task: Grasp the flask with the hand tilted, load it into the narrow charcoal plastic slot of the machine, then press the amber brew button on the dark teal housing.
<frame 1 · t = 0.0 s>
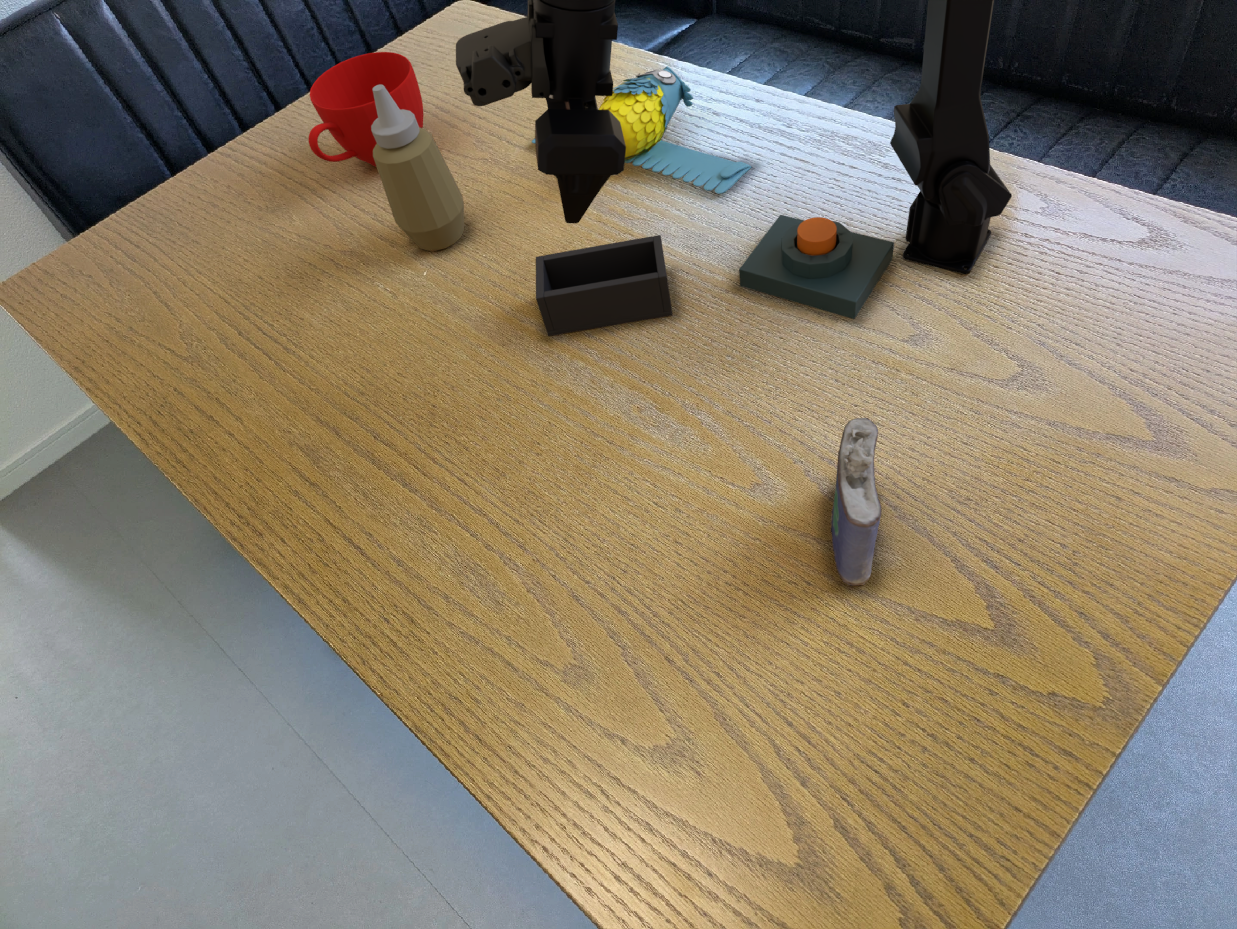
hand: (567, 189, 69), 15 cm above the table, tool pointing down, fingers open, 9 cm apart
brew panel: (815, 273, 81), on the table
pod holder: (608, 304, 83), on the table
owl figurine: (640, 152, 98), on the table
brew button: (816, 236, 77), point 4 cm above the table, slide at 0.1 cm
ceramic cup: (383, 162, 106), on the table
squeeze bottle: (440, 236, 95), on the table
flask: (850, 535, 63), on the table
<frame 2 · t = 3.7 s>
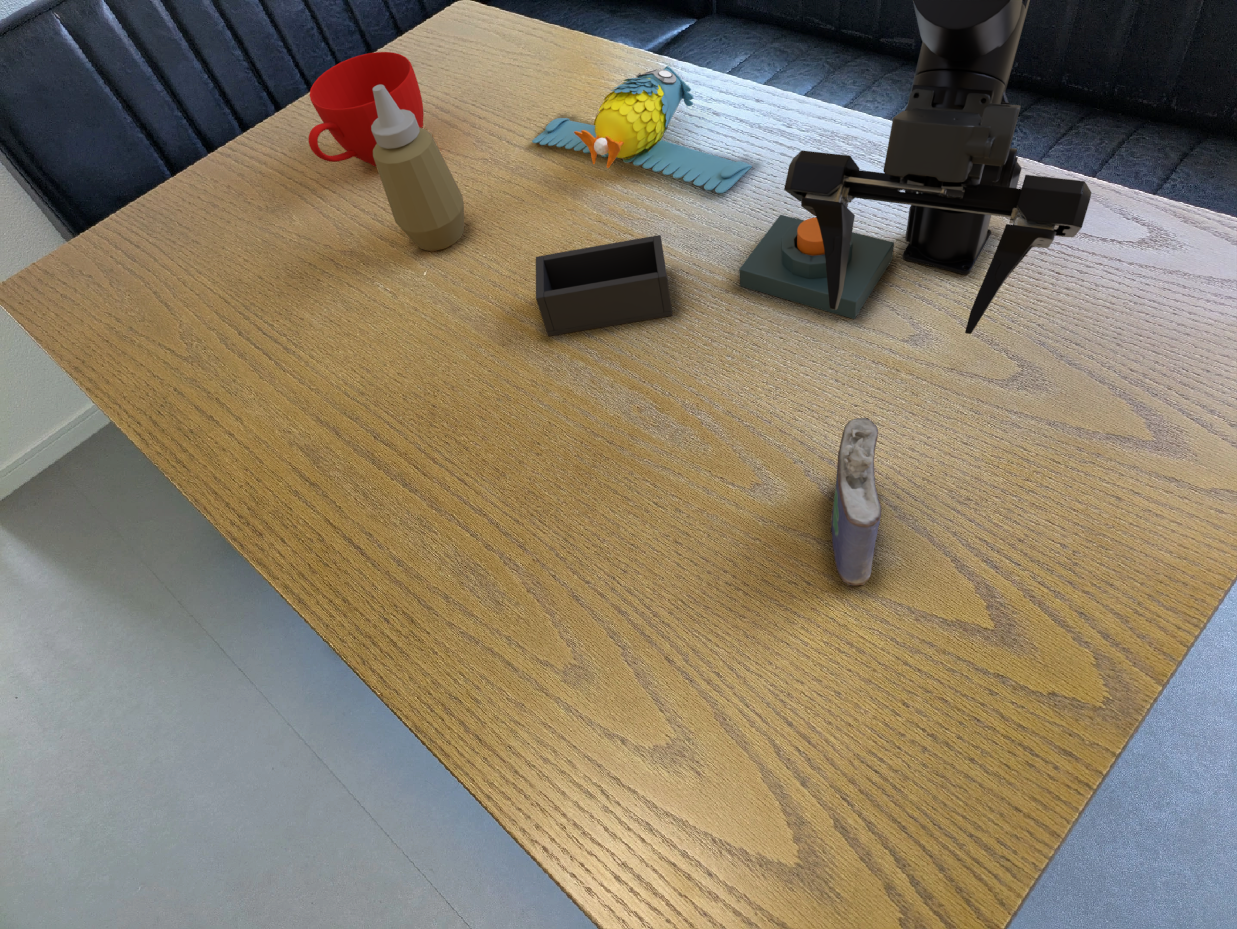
hand: (898, 321, 57), 14 cm above the table, tool tilted 45°, fingers open, 9 cm apart
nothing on the table moved.
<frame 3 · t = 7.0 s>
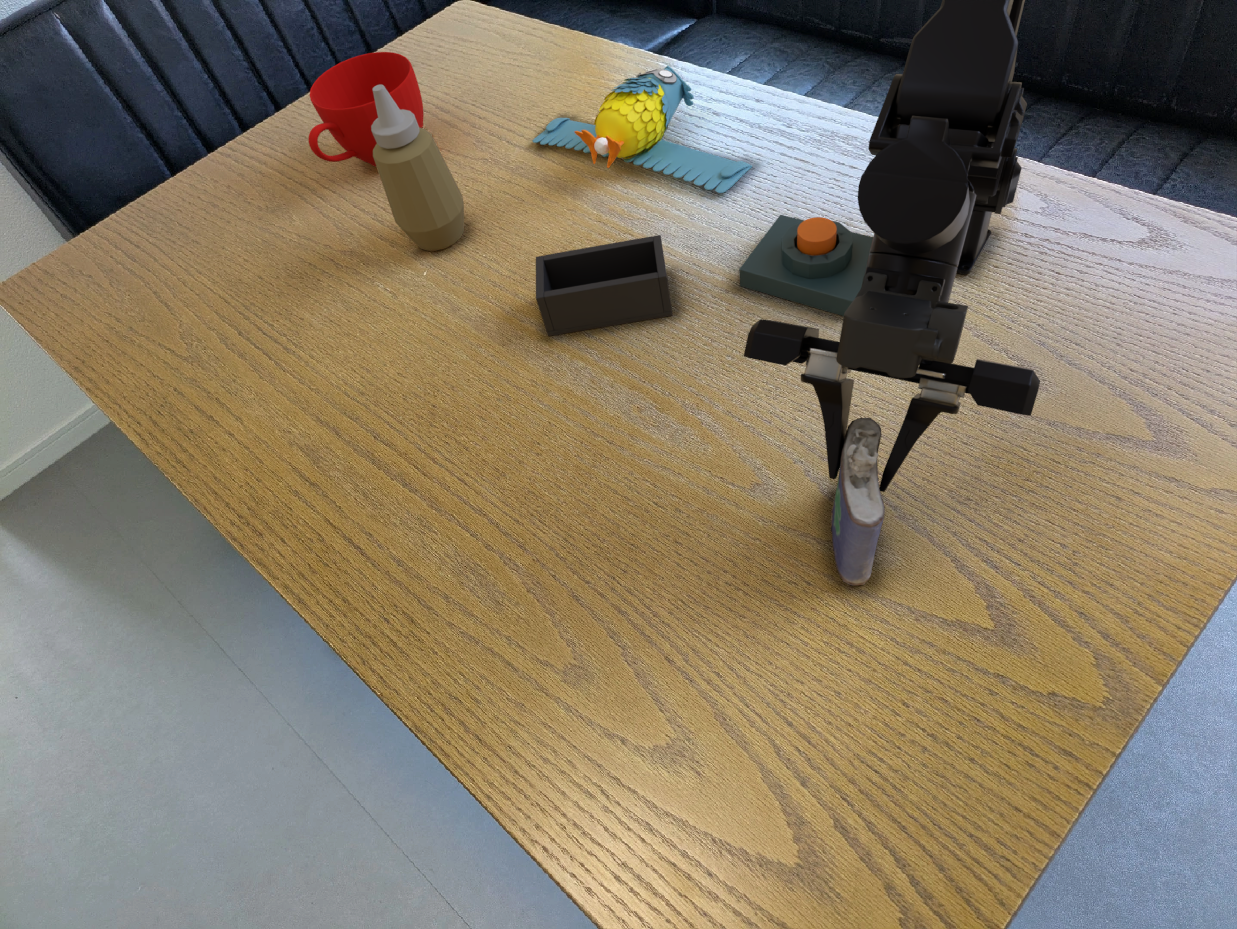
hand: (856, 484, 58), 7 cm above the table, tool tilted 45°, fingers closed on flask, 3 cm apart
flask: (850, 535, 63), on the table, touching gripper
everything else where it was.
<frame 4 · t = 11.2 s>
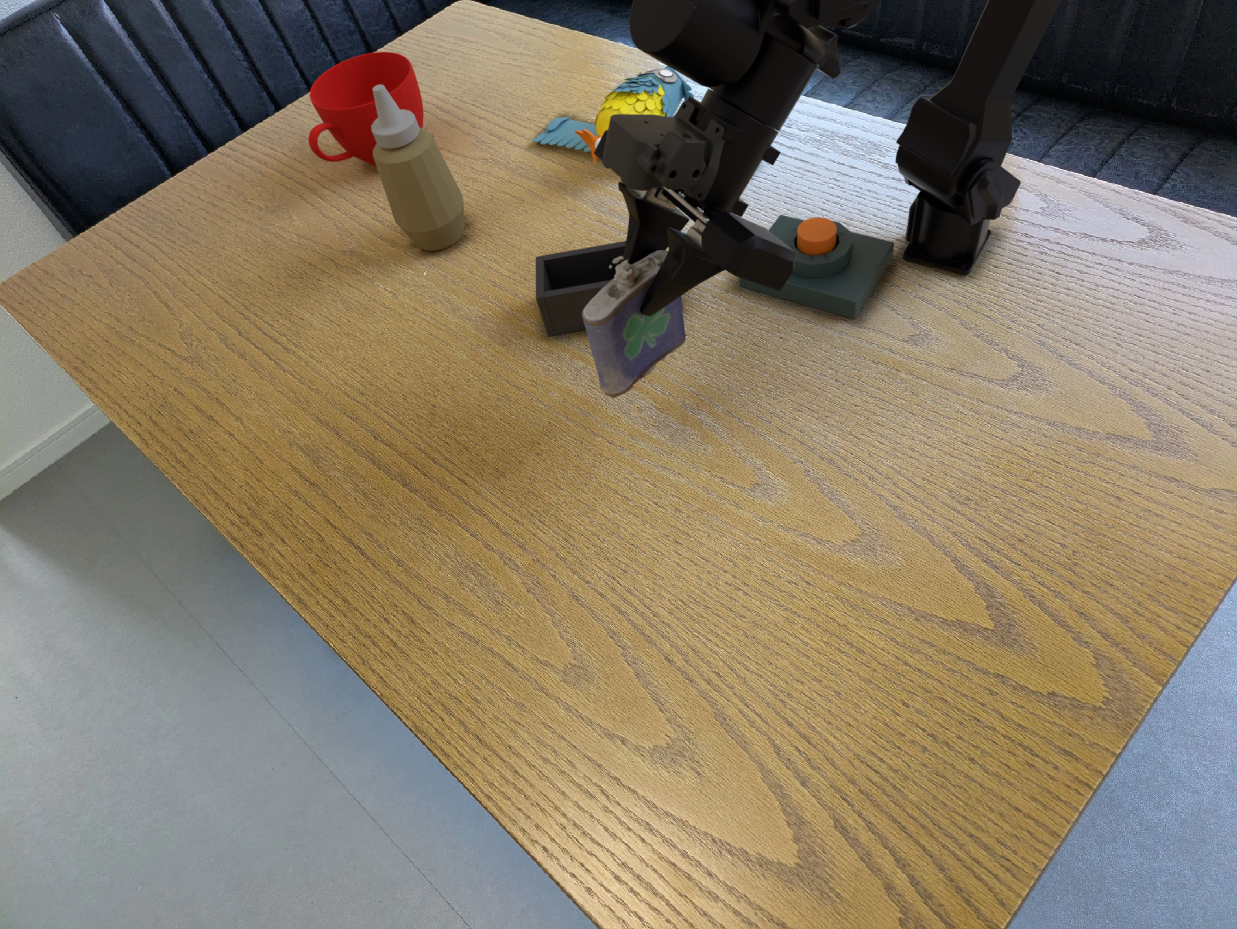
hand: (633, 302, 63), 13 cm above the table, tool tilted 45°, fingers closed on flask, 3 cm apart
flask: (644, 363, 68), point 6 cm above the table, touching gripper
everything else where it was.
when the fingers open (7 cm above the table, at t = 15.5 s): flask stays where it is, resting on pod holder.
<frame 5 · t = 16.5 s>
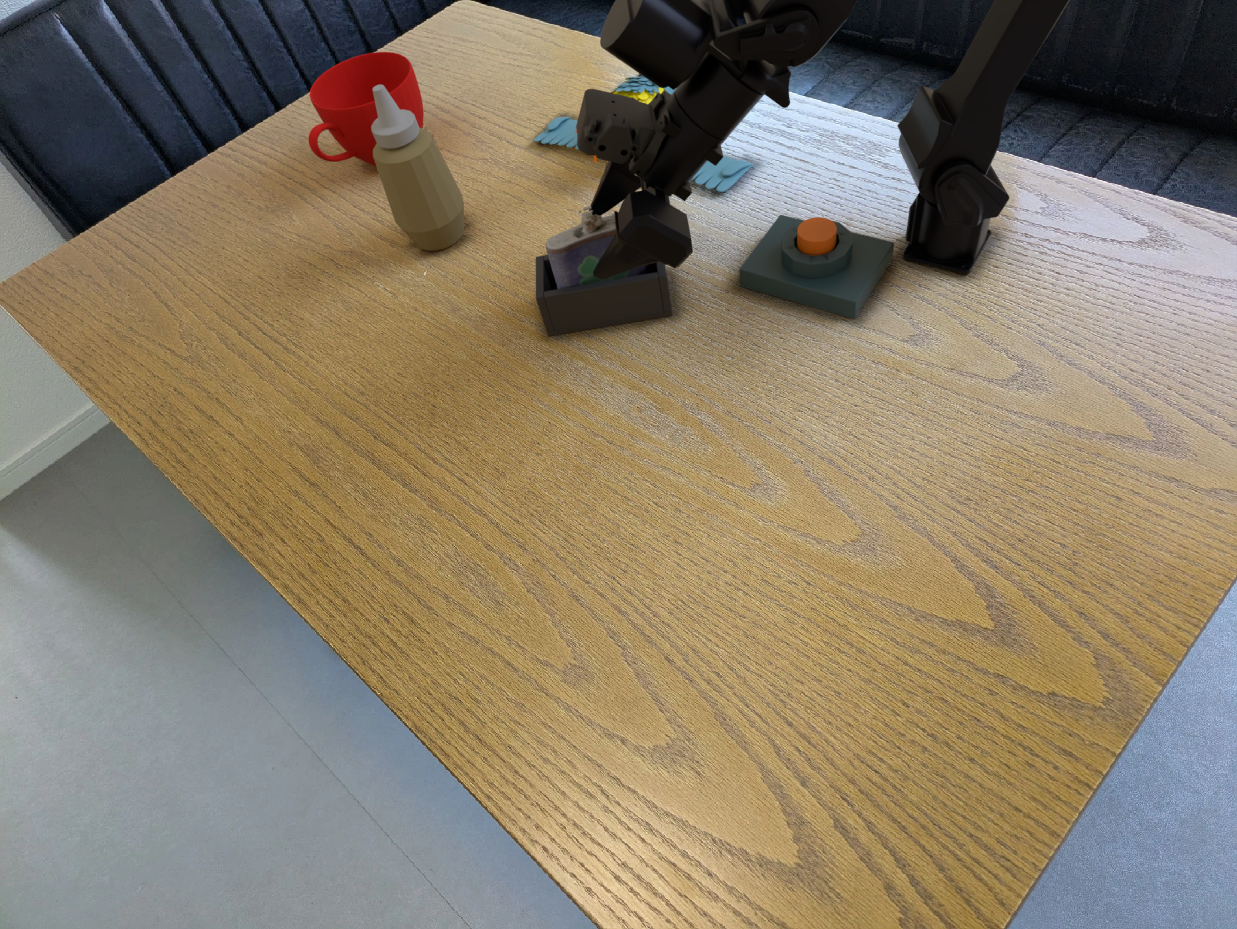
hand: (594, 244, 77), 8 cm above the table, tool tilted 45°, fingers open, 9 cm apart
flask: (608, 302, 82), resting on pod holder
everything else where it was.
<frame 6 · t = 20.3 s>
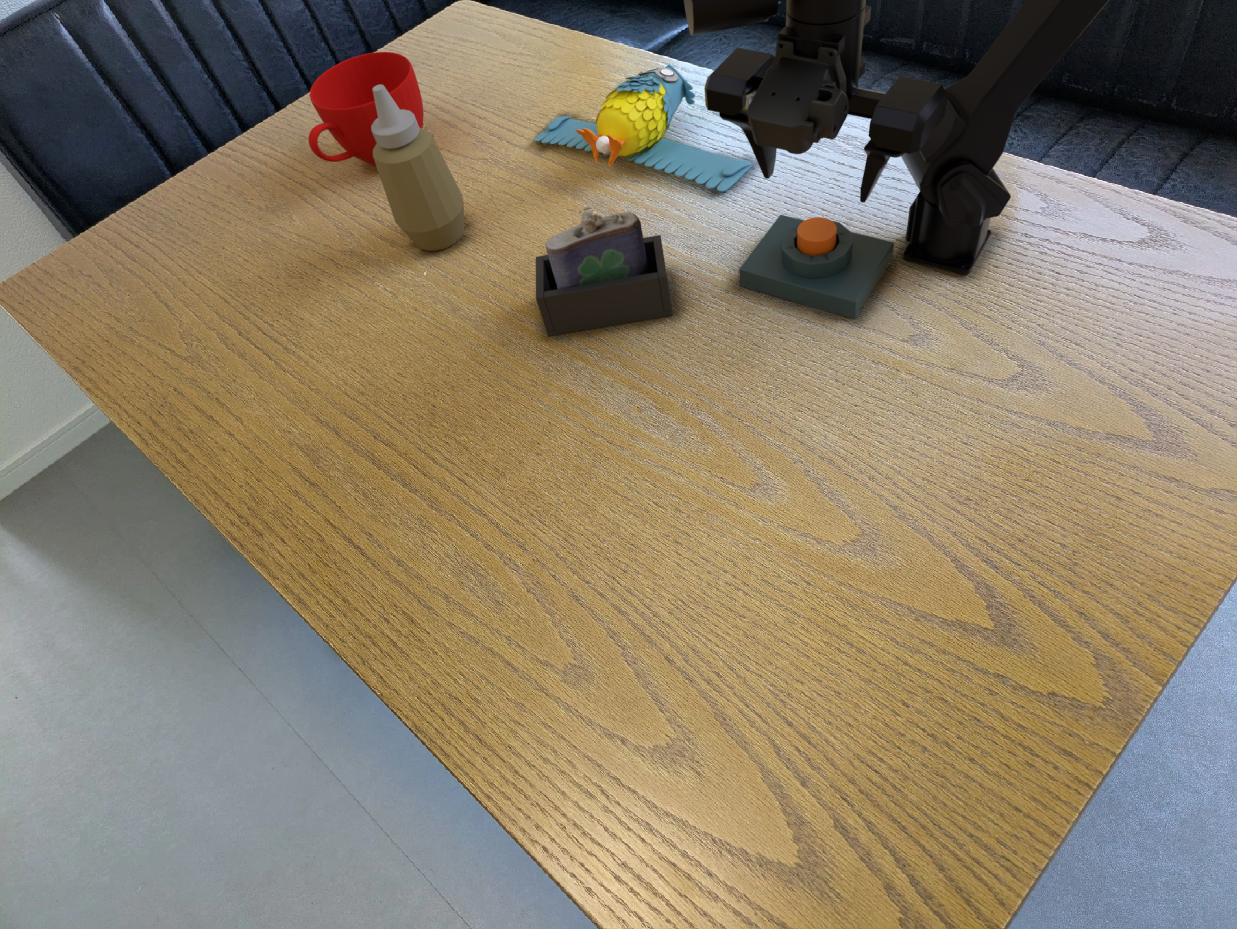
hand: (815, 187, 73), 10 cm above the table, tool pointing down, fingers open, 9 cm apart
nothing on the table moved.
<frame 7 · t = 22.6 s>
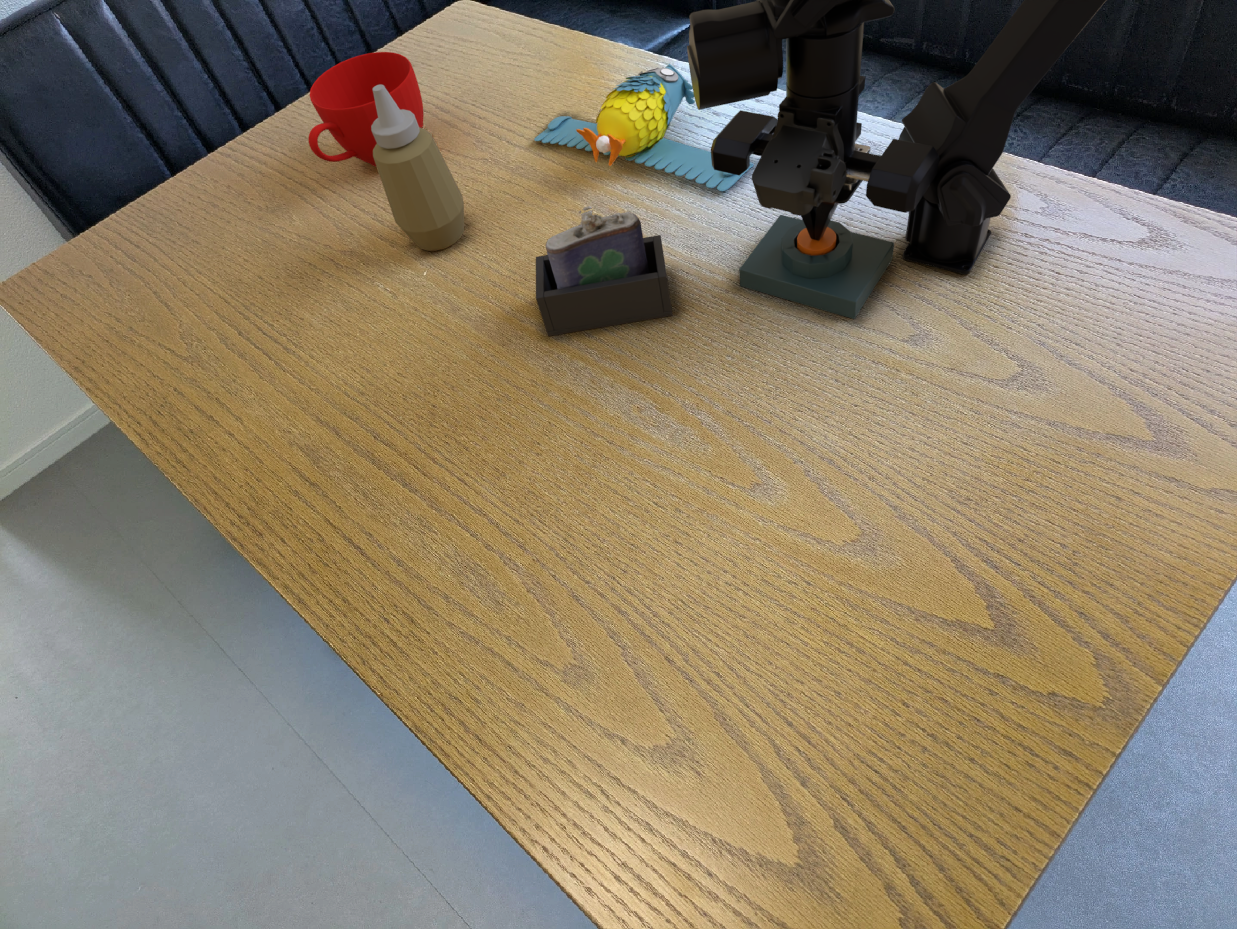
hand: (817, 237, 77), 4 cm above the table, tool pointing down, fingers closed, pressing on brew button
brew button: (816, 244, 78), point 4 cm above the table, slide at -0.9 cm, touching gripper
everything else where it was.
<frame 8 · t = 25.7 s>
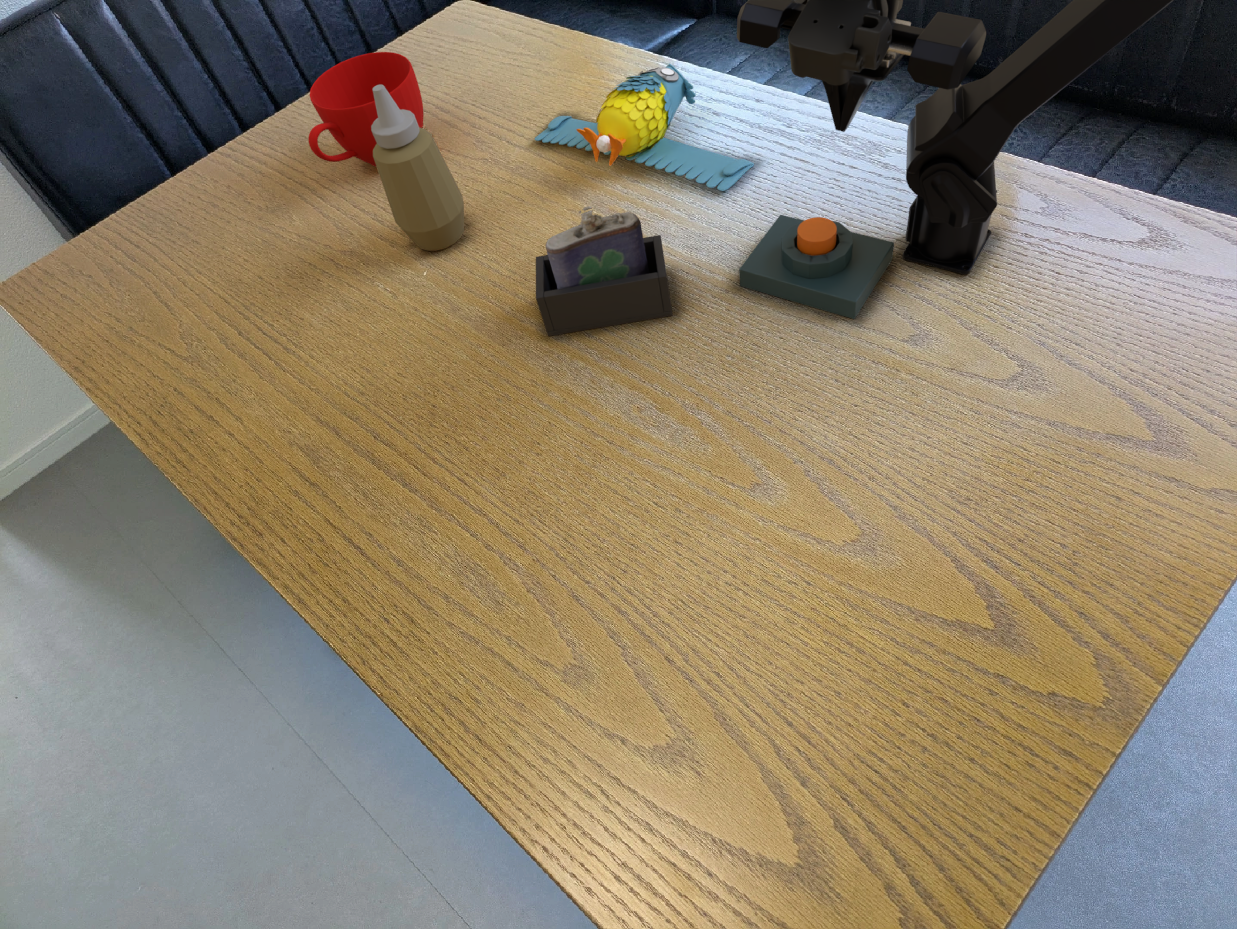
hand: (842, 128, 72), 13 cm above the table, tool pointing down, fingers closed
brew button: (816, 236, 77), point 4 cm above the table, slide at 0.1 cm
everything else where it was.
at the end: flask inside the target area in the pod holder (0.1 cm from its centre), point 0.4 cm above the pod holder's base; the gripper is holding nothing; brew button pushed in 1.2 cm at the most during the clip, back to where it started at the end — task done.
